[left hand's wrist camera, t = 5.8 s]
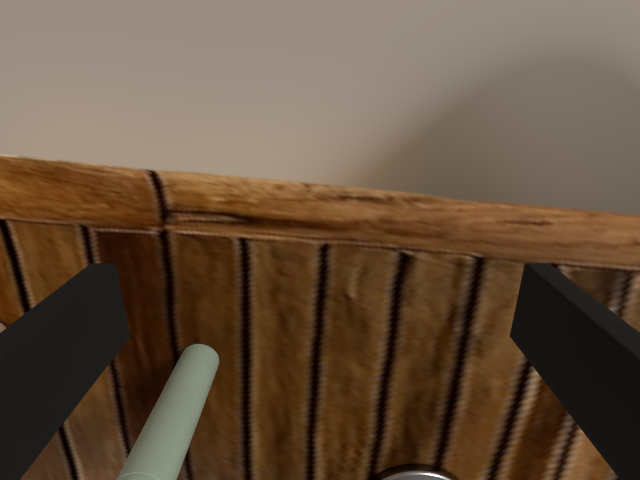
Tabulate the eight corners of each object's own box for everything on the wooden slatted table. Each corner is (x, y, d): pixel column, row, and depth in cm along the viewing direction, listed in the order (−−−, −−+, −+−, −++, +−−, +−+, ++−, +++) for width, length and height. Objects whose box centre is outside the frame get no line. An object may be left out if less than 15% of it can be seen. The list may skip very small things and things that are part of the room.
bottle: (193, 379, 49) (100, 591, 28) (174, 350, 47) (62, 553, 27) (225, 367, 48) (155, 576, 28) (208, 338, 47) (119, 536, 26)
